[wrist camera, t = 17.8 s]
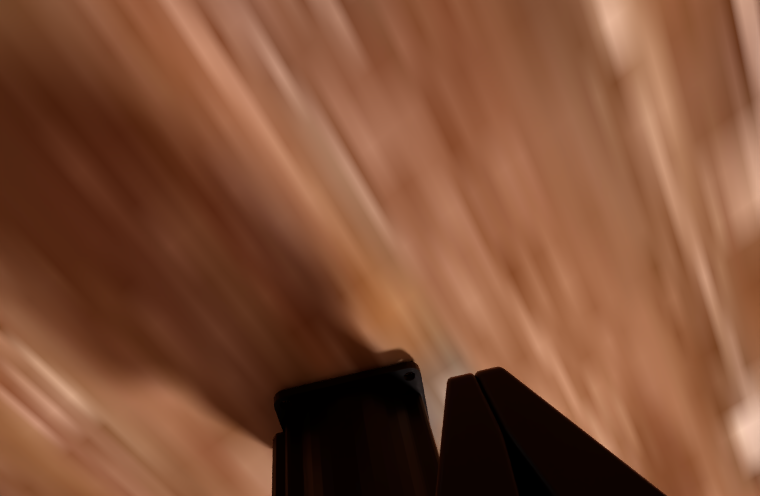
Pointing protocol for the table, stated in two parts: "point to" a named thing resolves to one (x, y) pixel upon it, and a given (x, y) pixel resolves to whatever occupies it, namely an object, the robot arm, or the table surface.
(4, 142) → the table surface
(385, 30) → the table surface
